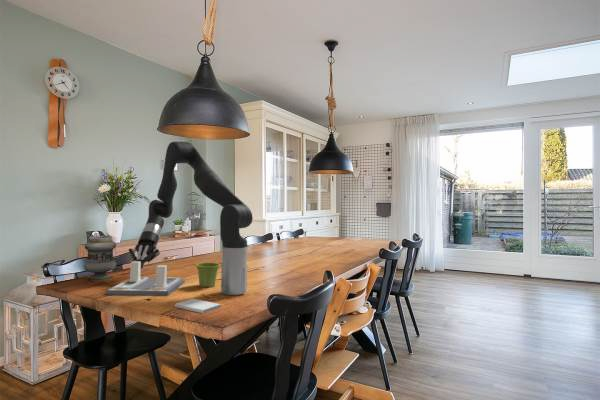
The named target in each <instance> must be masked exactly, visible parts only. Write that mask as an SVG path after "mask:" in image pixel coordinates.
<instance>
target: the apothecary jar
mask: <svg viewBox="0 0 600 400" xmlns="http://www.w3.org/2000/svg"><path fill="white" fill-rule="evenodd" d="M116 247H117V243H116V242H115V241H114V240H113V237H112V235H96V236H94V235H93V236H90V237H89V240H88V241H87V242H85V244H84V249H85V250H86V251H87V260H86V262H85V263H84V265H83V266H84V267H83V268H84V270H85V271H86V272H89V273H92V274H93V275H90V276H88V277H86V281H91V282H99V281H101V282H102V281H109V280H111V279H113V277H114V276H113V275H111V274H108V272H110V271H112V270H114V269H115V268H116V266H117V262H116V260H114V250H115V248H116Z"/></svg>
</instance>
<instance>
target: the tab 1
mask: <svg viewBox="0 0 600 400" xmlns="http://www.w3.org/2000/svg"><path fill="white" fill-rule="evenodd" d="M129 268H130V269H129V271H130V274H129V279H130V280H129V279H128V280H129V282H138V281H140V280H141V278H140V277H141V271H142V269H141V261H134V260H133V261H131V262H130V267H129Z"/></svg>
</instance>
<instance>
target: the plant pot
mask: <svg viewBox="0 0 600 400" xmlns="http://www.w3.org/2000/svg"><path fill="white" fill-rule="evenodd" d="M195 266H196V269H197V271H198V272H197V273H198V282H199V283H198V284H199V287H201V288H212V287H213V288H214V287H215V286H216V282H217V276H218V271H219V268H220V266H221V264H220V263H217V262H200V263H196V264H195Z"/></svg>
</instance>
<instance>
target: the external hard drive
mask: <svg viewBox="0 0 600 400" xmlns="http://www.w3.org/2000/svg"><path fill="white" fill-rule="evenodd" d="M174 307H175V308H180V309H181V310H186V311H187V310H188V311H191V312H195V313H199V314H205V313H209V312H211V311H214V310H217V309H220V308H222V303H221V304H220V303H215V302H211V301H206V300H201V299H197V298H190V299H186V300H183V301H180V302H177V303H175V304H174Z"/></svg>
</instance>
